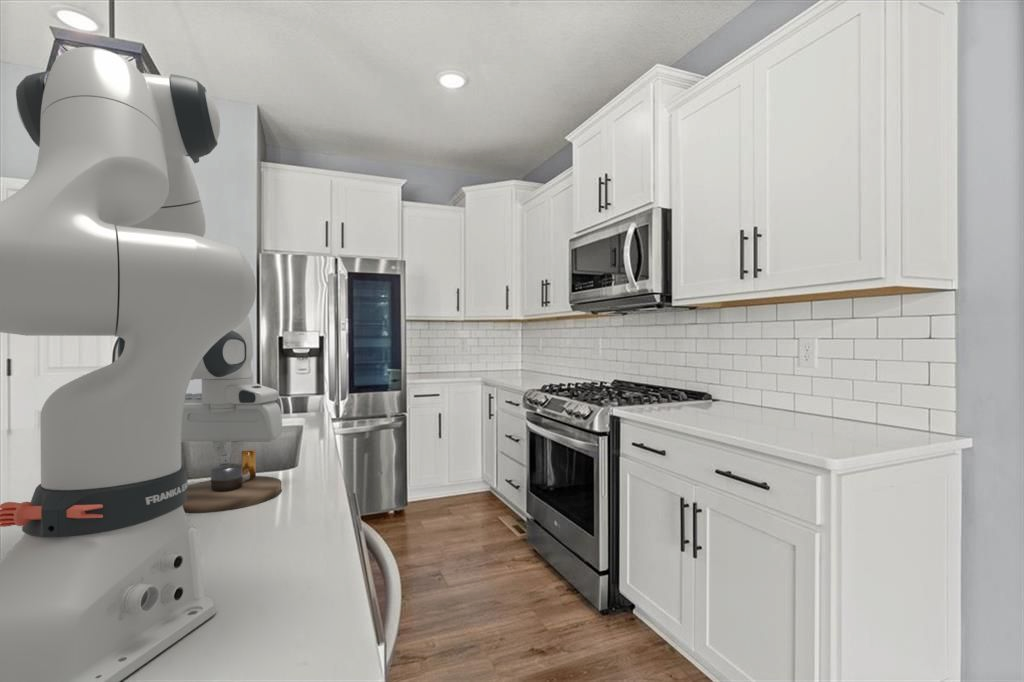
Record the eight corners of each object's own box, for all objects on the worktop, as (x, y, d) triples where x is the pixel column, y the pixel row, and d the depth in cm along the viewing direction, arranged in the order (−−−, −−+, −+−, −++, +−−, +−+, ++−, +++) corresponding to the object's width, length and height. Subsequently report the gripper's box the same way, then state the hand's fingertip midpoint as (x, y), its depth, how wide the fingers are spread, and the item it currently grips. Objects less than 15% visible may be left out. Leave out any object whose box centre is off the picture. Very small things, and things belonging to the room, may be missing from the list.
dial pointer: (231, 490, 91) (230, 461, 91) (204, 490, 92) (204, 460, 92) (264, 476, 102) (264, 449, 102) (240, 475, 102) (240, 449, 102)
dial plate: (254, 511, 85) (254, 497, 85) (142, 514, 85) (142, 499, 85) (296, 482, 103) (296, 470, 103) (204, 484, 103) (204, 473, 103)
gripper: (165, 394, 99) (166, 467, 99) (268, 394, 97) (269, 468, 97) (188, 391, 105) (189, 460, 105) (286, 391, 104) (286, 461, 104)
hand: (228, 464), depth 101 cm, fingers closed
